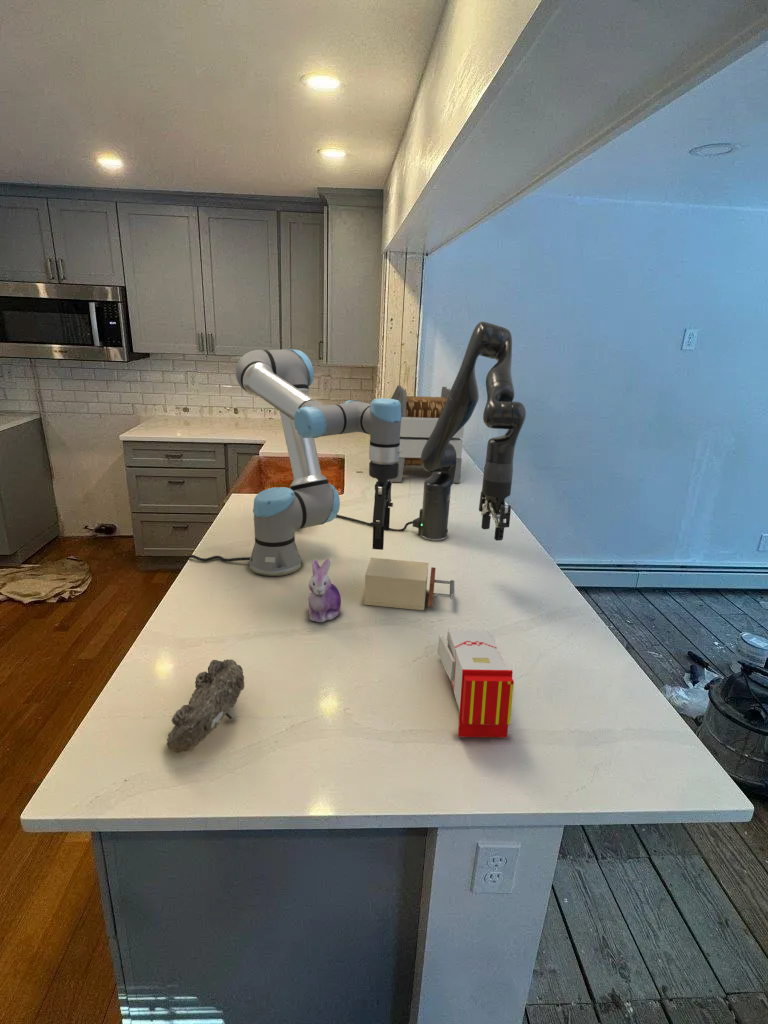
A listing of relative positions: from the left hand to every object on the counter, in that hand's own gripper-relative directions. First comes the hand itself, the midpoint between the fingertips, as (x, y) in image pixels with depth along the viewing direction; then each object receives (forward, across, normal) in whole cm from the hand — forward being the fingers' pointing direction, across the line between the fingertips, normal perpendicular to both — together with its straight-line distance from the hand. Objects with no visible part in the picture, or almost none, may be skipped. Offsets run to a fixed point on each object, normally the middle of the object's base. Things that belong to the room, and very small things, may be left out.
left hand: (381, 539), depth 150 cm
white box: (+16, +127, -4) cm, 128 cm away
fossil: (+17, -54, +25) cm, 62 cm away
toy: (+17, -38, -24) cm, 48 cm away
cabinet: (+17, 0, -5) cm, 18 cm away
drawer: (+16, 0, -10) cm, 19 cm away
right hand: (-1, +8, -30) cm, 31 cm away
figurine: (+17, -12, +13) cm, 25 cm away
